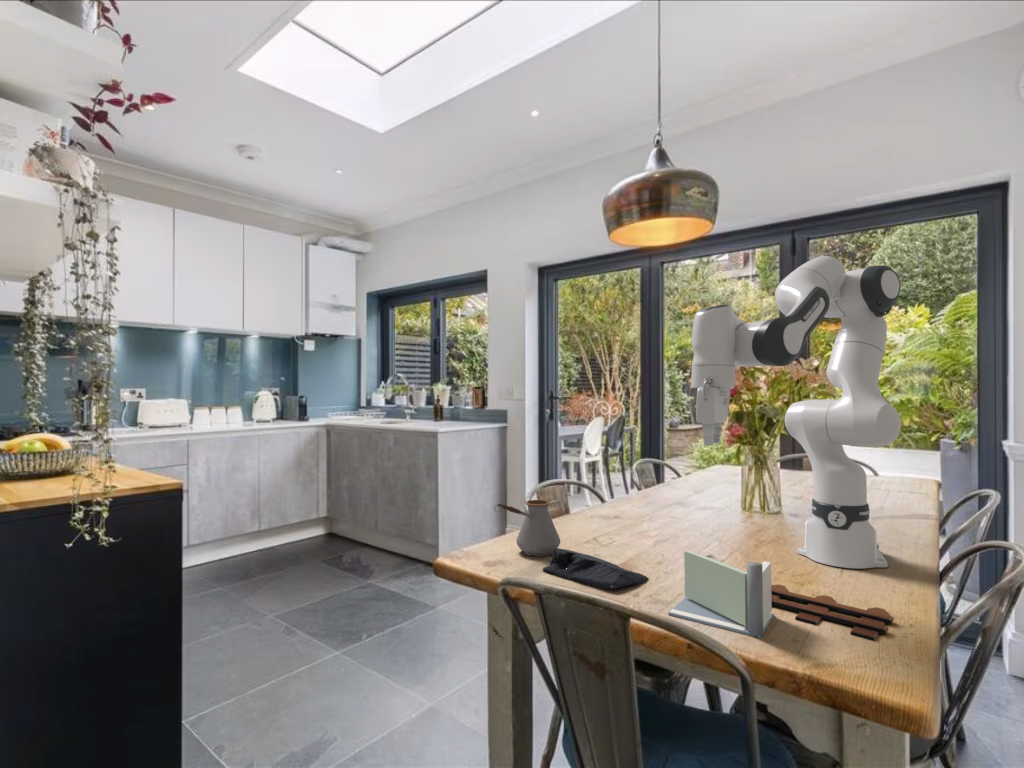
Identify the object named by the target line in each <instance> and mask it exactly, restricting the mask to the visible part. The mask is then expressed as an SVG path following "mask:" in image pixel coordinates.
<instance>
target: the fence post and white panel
mask: <svg viewBox="0 0 1024 768" xmlns="http://www.w3.org/2000/svg"><path fill="white" fill-rule="evenodd" d="M746 572H747V600H748V632H749V633H750V635H749V636H750V637H753V638H758V635H761V638H763V637H764V633H763V623H764V622H765V620H766V619H767V617H768V616H769V614H770V613H772V606H773V605H772V603H771V585H772V562H770V561H764V560H763V562H762V563H760V562H757V561H756V562H755V561H749V562H746Z"/></svg>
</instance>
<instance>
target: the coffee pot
mask: <svg viewBox="0 0 1024 768" xmlns="http://www.w3.org/2000/svg"><path fill="white" fill-rule="evenodd" d="M525 504H526V506H527V512H526V511H522V510H520V509H518V508H515V507H513V506H509V505H508V504H503V503H498V504H495V506H494V511H495V513H500V512H501V511H502V510H506V511H509V512H510V513H514V514H518V515H521V516H524V520H523V522H522V525H521V527H520V530H519V532H518V535H517V537H516V542H515V543H516V545H517V546H518V548H519V549H520V550H521V551H522V552H523V553H524V554H525V553H526V554H525V555H527V554H528V556H531V555H535V556H534V557H545V556H544V555H547V556H550V555H552V554H553V549H555V548H559V547H560V545H561V538H560V536H559V533H558V531H557V529H556V526H555V523H554V522H553V519H552V516H551V515H550V513H549V506H550V505H551V501H549V500H545V499H530V500H526V501H525ZM497 506H498V507H499V508H500V510H499V511H497V510H496V507H497ZM551 553H552V554H551ZM549 554H550V555H549Z"/></svg>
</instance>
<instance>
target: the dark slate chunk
mask: <svg viewBox="0 0 1024 768" xmlns="http://www.w3.org/2000/svg"><path fill="white" fill-rule="evenodd" d="M566 568H567V569H566ZM542 570H543V572H545V571H546V573H550V572H551V574H553V575H555V574H556V575H555V576H559V577H560V576H561V577H560V578H564V577H565V578H564V579H567V578H569V580H570V579H572V581H577V580H578V581H577V582H580V583H582V582H583V583H584V584H586V585H590V586H594V587H596V588H602V589H604V588H605V589H607V590H615V589H619V588H623V587H627V585H628V586H633V584H634V585H637V584H638V585H639V584H643V582H644V583H646V582H647V579H648V580H649V577H647V575H643V574H642V573H639V572H635V571H632V570H628V569H627V568H626V569H625V568H623V567H620V566H619V565H617V564H616V563H615V564H614V563H612V562H609V561H606V560H604V559H601V558H599V557H596V556H593V555H590V554H586V553H582V552H577V551H573V550H570V549H564V548H559V547H558V548H555V549H553V553H552V554H551V560H550V564H549V565H548V566H546V567H543V568H542ZM583 583H582V584H583Z"/></svg>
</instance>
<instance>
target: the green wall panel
mask: <svg viewBox="0 0 1024 768" xmlns="http://www.w3.org/2000/svg"><path fill="white" fill-rule="evenodd" d="M683 552H684V553H683V555H684V598H685V597H687V598H689V599H691V600H693V601H695V602H697V603H699V604H701V605H703V606H705V607H707V608H710V609H712V610H714V611H716V612H718V613H720V614H722V615H724V616H726V617H728V618H730V619H732V620H734V621H736V622H738V623H740V624H742V625H744V626H747V625H748V600H747V571H745V570H742V569H740V568H737V567H734V566H732V565H729V564H727V563H725V562H722V561H718V560H717V559H716V560H715V559H713V558H710V557H708V556H705V555H702V554H700V553H697V552H695V551H692V550H689V549H688V550H685V551H683Z"/></svg>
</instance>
